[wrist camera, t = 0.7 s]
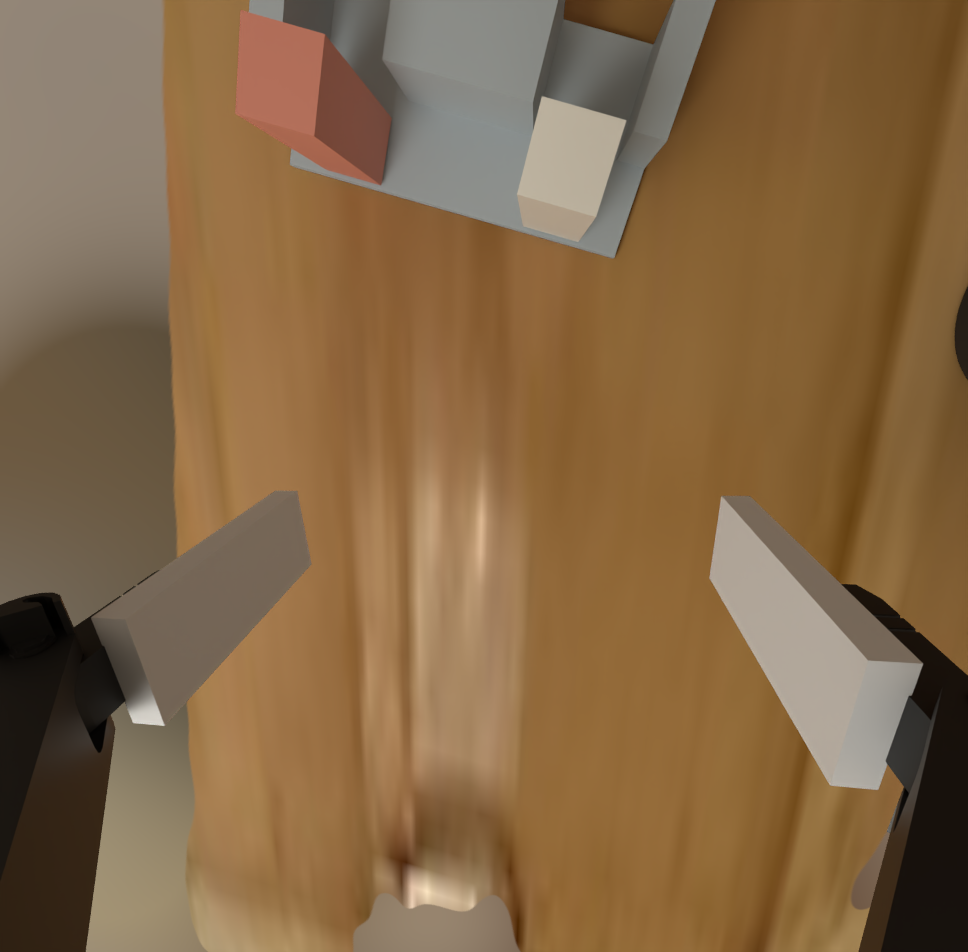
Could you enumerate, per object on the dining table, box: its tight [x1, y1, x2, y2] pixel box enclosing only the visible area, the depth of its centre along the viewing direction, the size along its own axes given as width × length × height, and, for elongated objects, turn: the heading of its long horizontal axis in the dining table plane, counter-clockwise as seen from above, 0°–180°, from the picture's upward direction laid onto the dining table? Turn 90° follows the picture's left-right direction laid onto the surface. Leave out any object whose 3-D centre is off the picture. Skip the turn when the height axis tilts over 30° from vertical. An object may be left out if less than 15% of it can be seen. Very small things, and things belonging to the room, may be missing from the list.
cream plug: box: [517, 96, 627, 242], centre depth 28 cm, size 4×4×11 cm
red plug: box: [235, 10, 392, 185], centre depth 28 cm, size 4×4×11 cm
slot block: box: [249, 0, 716, 258], centre depth 30 cm, size 25×12×7 cm, turn 75°
